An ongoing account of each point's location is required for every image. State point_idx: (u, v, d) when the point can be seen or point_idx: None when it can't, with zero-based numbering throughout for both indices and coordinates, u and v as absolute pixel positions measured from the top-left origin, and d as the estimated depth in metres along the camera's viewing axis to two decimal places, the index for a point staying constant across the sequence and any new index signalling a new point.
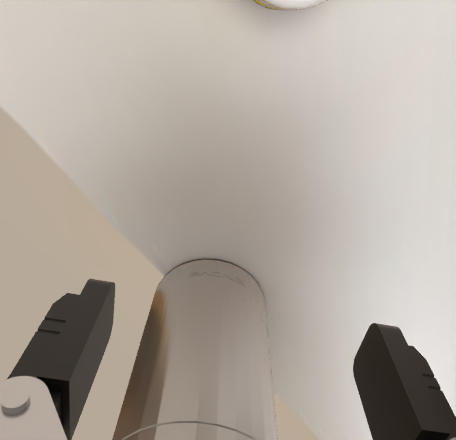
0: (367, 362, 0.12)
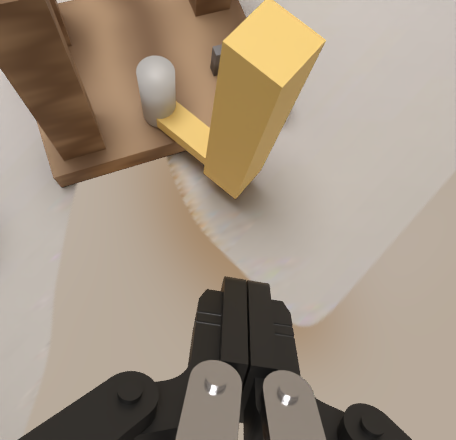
0: None
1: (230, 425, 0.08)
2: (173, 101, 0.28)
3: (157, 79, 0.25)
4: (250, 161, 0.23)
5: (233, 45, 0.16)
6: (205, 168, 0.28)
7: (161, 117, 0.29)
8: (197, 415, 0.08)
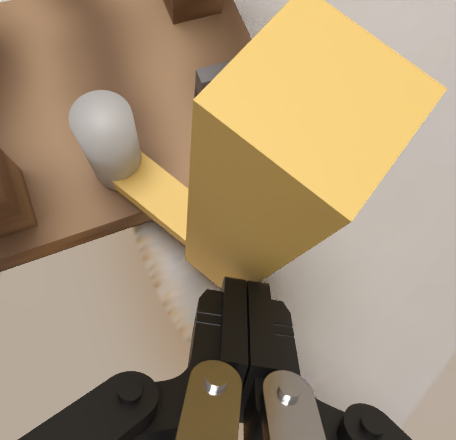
0: None
1: (230, 425, 0.08)
2: (135, 156, 0.18)
3: (103, 129, 0.16)
4: (258, 280, 0.13)
5: (221, 109, 0.06)
6: (187, 256, 0.19)
7: (119, 179, 0.19)
8: (197, 415, 0.08)
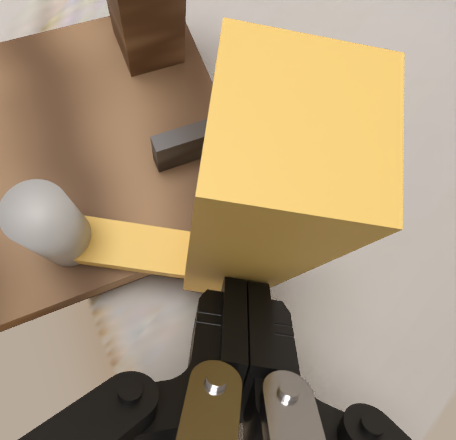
0: None
1: (230, 425, 0.08)
2: (84, 225, 0.17)
3: (44, 222, 0.14)
4: (278, 282, 0.13)
5: (226, 190, 0.06)
6: (185, 287, 0.18)
7: (79, 254, 0.17)
8: (197, 415, 0.08)
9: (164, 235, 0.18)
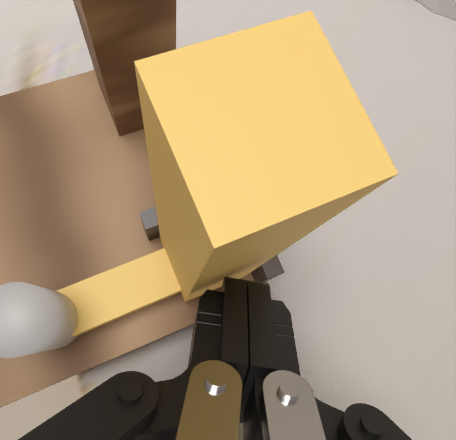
0: None
1: (230, 425, 0.08)
2: (65, 300, 0.16)
3: (29, 323, 0.13)
4: (276, 254, 0.13)
5: (237, 226, 0.06)
6: (187, 300, 0.18)
7: (74, 328, 0.17)
8: (197, 415, 0.08)
9: (142, 265, 0.18)
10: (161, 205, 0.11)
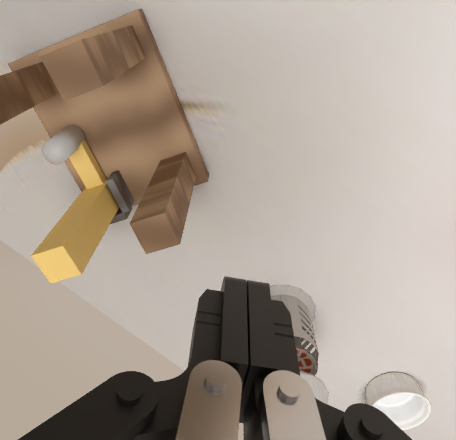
0: None
1: (230, 425, 0.08)
2: None
3: (54, 157, 0.39)
4: None
5: (35, 259, 0.34)
6: (84, 190, 0.45)
7: None
8: (197, 415, 0.08)
9: (95, 175, 0.44)
10: (77, 217, 0.38)
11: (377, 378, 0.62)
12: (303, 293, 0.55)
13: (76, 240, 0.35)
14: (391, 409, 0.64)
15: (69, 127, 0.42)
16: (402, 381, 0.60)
